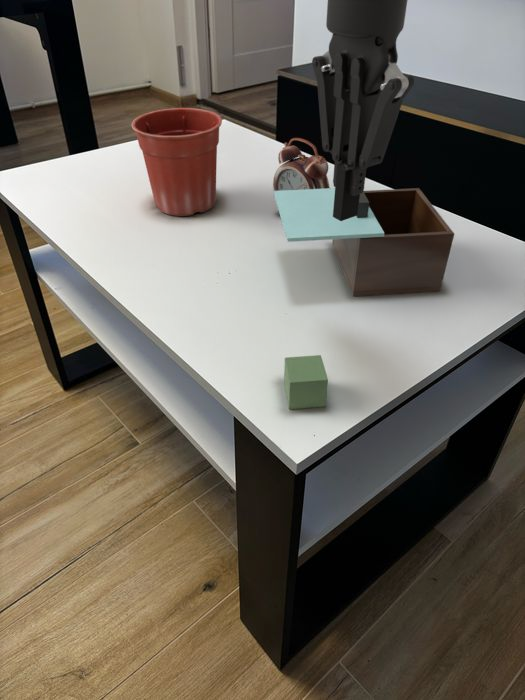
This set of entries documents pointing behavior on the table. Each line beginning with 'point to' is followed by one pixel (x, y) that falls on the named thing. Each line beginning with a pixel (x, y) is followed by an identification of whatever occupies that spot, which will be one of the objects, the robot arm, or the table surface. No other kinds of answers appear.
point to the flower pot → (180, 157)
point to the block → (305, 382)
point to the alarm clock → (300, 169)
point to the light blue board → (322, 216)
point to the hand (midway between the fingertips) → (345, 215)
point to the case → (397, 247)
